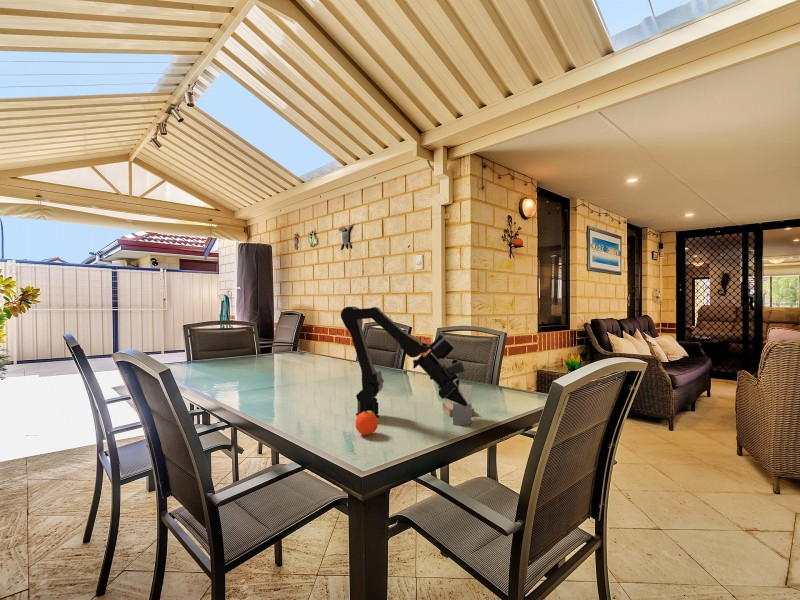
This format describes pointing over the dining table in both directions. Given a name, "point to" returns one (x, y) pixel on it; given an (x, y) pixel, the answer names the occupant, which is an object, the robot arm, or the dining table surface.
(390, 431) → the dining table surface
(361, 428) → the clementine
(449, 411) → the stand
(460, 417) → the block
